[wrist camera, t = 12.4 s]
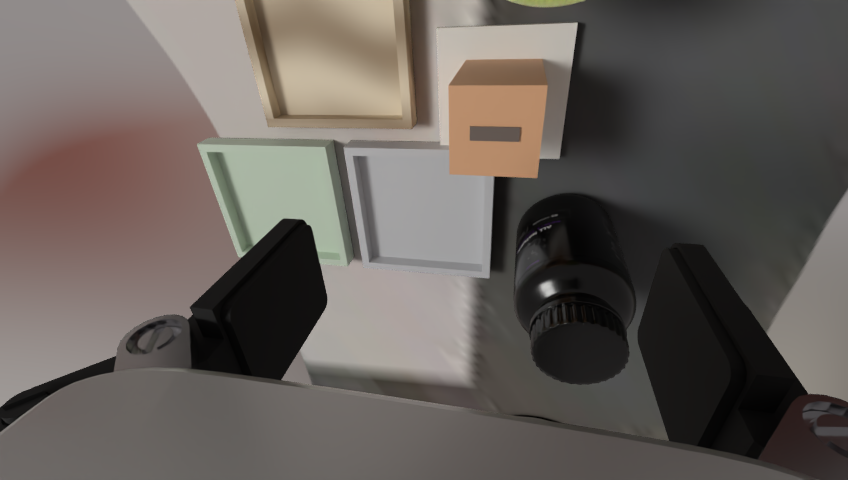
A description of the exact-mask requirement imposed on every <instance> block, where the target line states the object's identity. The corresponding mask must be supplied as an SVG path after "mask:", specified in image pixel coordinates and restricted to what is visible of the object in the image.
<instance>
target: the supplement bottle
mask: <svg viewBox="0 0 848 480" xmlns="http://www.w3.org/2000/svg"><path fill="white" fill-rule="evenodd" d="M514 310H515V313H516V316H517V319H518V321H519V322H520V324H521V325H522V327H523V328H524V329H525V330H526V331H527V332H528V333H529V336H530V340H531V354H532V359H533V361H534V362H535V363H536V366H537V367H539V368H540V370H541V371H542V372H544V373H545V374H546V375H547V376H550V377H552V378H553V379H556V380H559V381H561V382H567V383H570V384H578V385H582V384H588V385H589V384H592V383H599V382H601V381H606V380H608V379H609V378H613V377H614V376H615V375H616V374H619V373H620V372H621V370H622V369H624V368H625V364H626V363H627V362H628V357H629V345H628V341H627V331H626V330H627V328H628V327H629V325H630V324H631V322H632V320H633V318H634V315H635V311H636V296H635V291H634V288H633V284H632V281H631V278H630V275H629V272H628V269H627V266H626V263H625V260H624V256H623V253H622V250H621V247H620V244H619V241H618V238H617V235H616V232H615V229H614V226H613V223H612V221H611V218H610V216H609V215H608V213H607V212H606V211H605V209H604V208H603V207H602V206H600V205H599V204H598V203H596V202H595V201H593V200H591V199H589V198H587V197H584V196H580V195H574V194H560V195H554V196H550V197H547V198H545V199H543V200H541V201H539V202H537V203H535V204H534V205H533V206H531V207H530V208H529V209H528V210H527V211H526V213H525V214H524V215H523V217H522V219H521V220H520V223H519V226H518V230H517V238H516V258H515V278H514Z"/></svg>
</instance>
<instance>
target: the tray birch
mask: <svg viewBox="0 0 848 480" xmlns="http://www.w3.org/2000/svg"><path fill="white" fill-rule="evenodd" d="M235 2H236V6H237V10H238V14H239V18H240V21H241V25H242V29H243V33H244V37H245V40H246V44H247V48H248V52H249V56H250V59H251V63H252V67H253V71H254V75H255V78H256V82H257V86H258V90H259V94H260V97H261V101H262V105H263V109H264V113H265V116H266V120H267V124H268V127H305V128H387V129H412V128H413V127H414V125H415V124H416V123H417V115H416V99H415V83H414V67H413V51H412V35H411V19H410V3H409V0H235Z"/></svg>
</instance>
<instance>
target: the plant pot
mask: <svg viewBox="0 0 848 480" xmlns="http://www.w3.org/2000/svg"><path fill="white" fill-rule="evenodd" d="M508 1H510V2H513V3H517V4H520V5H526V6H531V7H559V6H565V5H571V4H575V3H578V2H582V1H585V0H508Z"/></svg>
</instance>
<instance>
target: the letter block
mask: <svg viewBox="0 0 848 480" xmlns="http://www.w3.org/2000/svg"><path fill="white" fill-rule="evenodd" d="M547 89H548V84H547V79H546V74H545V69H544V65H543V60H542V59H484V60H466V61H465V62H464V64H463V65H462V66H461V68H460V69H459V71H458V72H457V74H456V75H455V77H454V78H453V80H452V81H451V82H450V84H449V85H448V93H449V174H452V175H475V176H499V177H523V178H537V175H538V166H539V158H540V149H541V141H542V132H543V123H544V115H545V106H546V97H547Z"/></svg>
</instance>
